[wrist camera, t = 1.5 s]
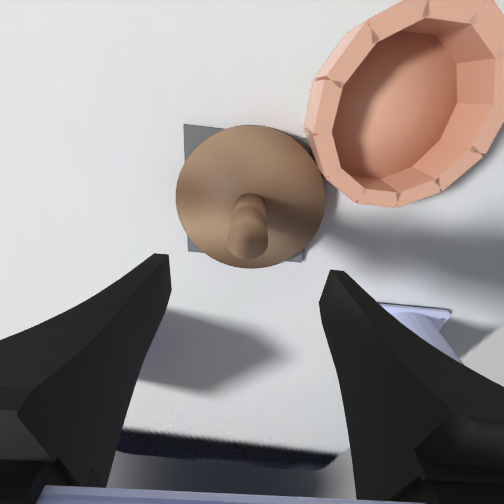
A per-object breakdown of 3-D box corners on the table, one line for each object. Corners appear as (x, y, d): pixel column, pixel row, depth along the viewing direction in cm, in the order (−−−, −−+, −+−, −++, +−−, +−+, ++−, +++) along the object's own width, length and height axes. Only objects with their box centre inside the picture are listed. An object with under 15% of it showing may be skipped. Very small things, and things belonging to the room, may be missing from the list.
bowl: (422, 195, 20) (451, 213, 17) (293, 180, 19) (299, 197, 16) (505, 23, 14) (569, 5, 11) (328, -2, 14) (347, -26, 11)
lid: (305, 267, 23) (317, 317, 18) (182, 255, 23) (160, 303, 18) (340, 135, 17) (374, 154, 12) (175, 115, 17) (138, 126, 12)
